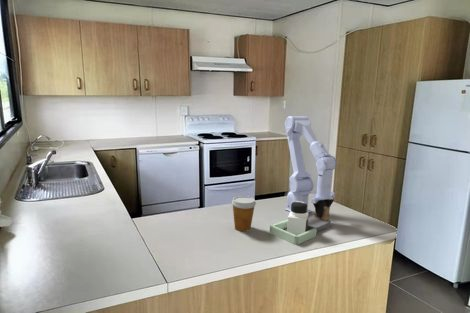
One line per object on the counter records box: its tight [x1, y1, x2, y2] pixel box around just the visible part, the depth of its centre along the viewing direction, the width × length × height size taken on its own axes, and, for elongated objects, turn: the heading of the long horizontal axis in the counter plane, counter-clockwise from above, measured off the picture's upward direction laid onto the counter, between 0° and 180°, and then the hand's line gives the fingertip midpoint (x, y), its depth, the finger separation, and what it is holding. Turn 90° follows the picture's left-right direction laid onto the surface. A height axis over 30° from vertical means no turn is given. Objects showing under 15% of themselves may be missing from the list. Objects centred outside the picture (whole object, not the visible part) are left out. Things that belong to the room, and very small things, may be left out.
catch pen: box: [269, 218, 317, 246], centre depth 124 cm, size 13×12×3 cm
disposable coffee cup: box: [231, 195, 257, 232], centre depth 128 cm, size 10×10×12 cm
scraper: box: [307, 206, 332, 234], centre depth 133 cm, size 9×12×7 cm
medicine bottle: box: [286, 201, 310, 236], centre depth 126 cm, size 7×7×12 cm
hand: (321, 216), depth 136 cm, fingers open, 3 cm apart
